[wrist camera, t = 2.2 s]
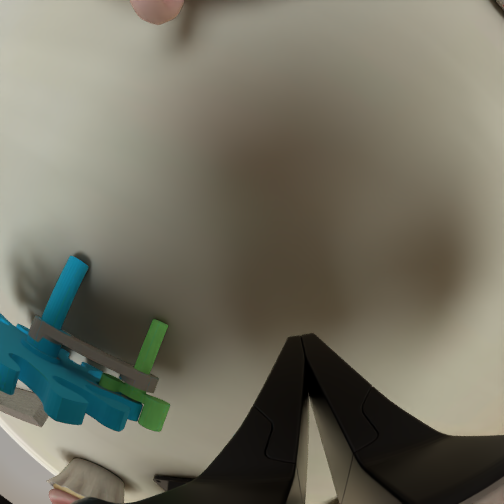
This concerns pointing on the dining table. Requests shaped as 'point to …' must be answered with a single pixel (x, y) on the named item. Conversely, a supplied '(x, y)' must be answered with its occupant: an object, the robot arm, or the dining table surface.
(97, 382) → the gear
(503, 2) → the soda can
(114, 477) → the cupcake
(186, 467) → the dining table surface
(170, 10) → the mug
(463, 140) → the dining table surface
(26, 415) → the grey u-shaped frame
